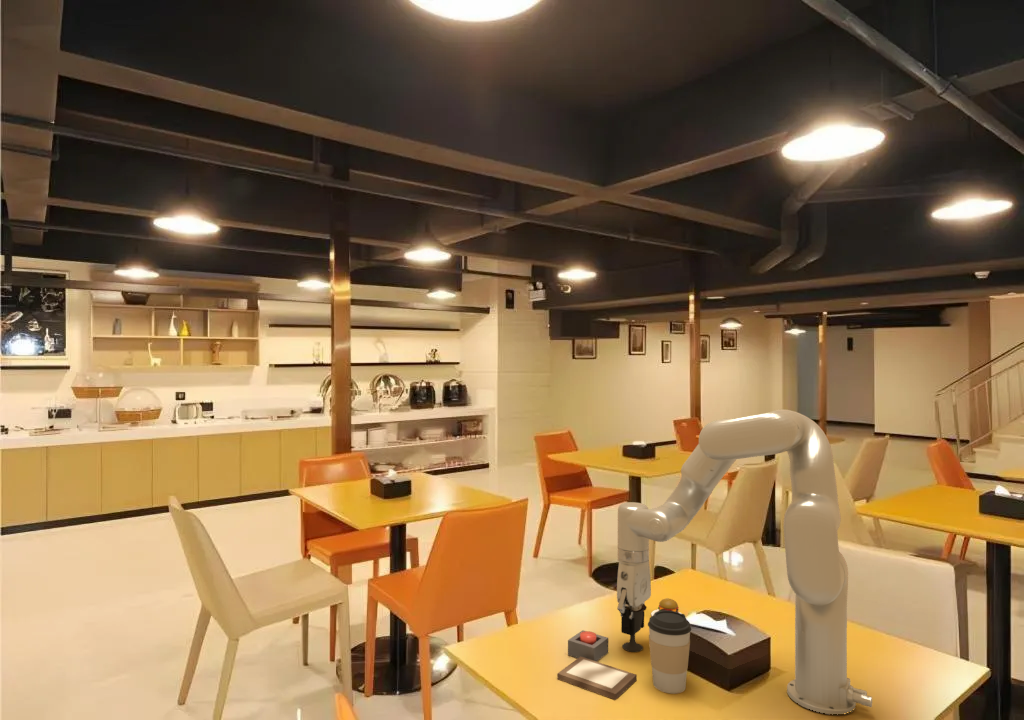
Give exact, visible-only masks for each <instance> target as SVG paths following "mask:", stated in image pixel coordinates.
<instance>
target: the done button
mask: <svg viewBox="0 0 1024 720" xmlns="http://www.w3.org/2000/svg"><path fill="white" fill-rule="evenodd" d="M584 631H585V632H582V633H580V641H581V642H584V643H587V644H590V645H593V644H594V643H596V634H597V633H596V632H593V631H587V630H584Z"/></svg>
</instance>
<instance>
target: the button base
mask: <svg viewBox="0 0 1024 720" xmlns="http://www.w3.org/2000/svg"><path fill="white" fill-rule="evenodd" d="M585 631H586V630H584V629H583V630H580V631H579V632H578V633H575V635H573V636H572V637H570V638H569V639H568V640H567V656H569V655H570V656H569V657H572V658H575V659H578V658H579V657H580V656H581V657H584V658H587V659H590V660H593V661H596V662H599V660H601V659H602V658H604V657H605V656H606V655H607V654H608V653H609V637H607V636H604V635H600V634H597V633H595V634H596V643H594V644H593V645H590V644H587V643H584V642H581V641H580V633H582V632H585Z"/></svg>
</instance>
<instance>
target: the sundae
mask: <svg viewBox="0 0 1024 720" xmlns="http://www.w3.org/2000/svg"><path fill="white" fill-rule="evenodd" d="M626 603H627V604H629V602H628V601H626ZM625 608H626V609H628V610H629V612H630V607H625ZM647 608H648V607H647V606H646V605H644V604H643V603H642V604H641V605H639V606H638V607H636V608H634V611H633V612H634V613H633V618H635V634H634V635H633V636H632V635H629V641H627V642H624V643H623V644H622V649H624V650H625V651H627V652H631V653H637V652H641V651H643V649H644V646H643V645H642V644H640V643H638V642H637V641H636V633H639V631H641V629H642V628H641V625H642V618H643V612H644V613H645V611H646V610H647Z"/></svg>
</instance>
